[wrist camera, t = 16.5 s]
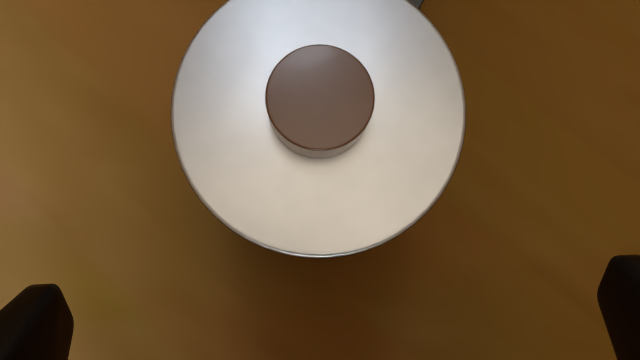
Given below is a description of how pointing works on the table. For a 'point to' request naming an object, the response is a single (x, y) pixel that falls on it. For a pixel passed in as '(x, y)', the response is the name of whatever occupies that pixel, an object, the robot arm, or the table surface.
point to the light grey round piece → (318, 121)
